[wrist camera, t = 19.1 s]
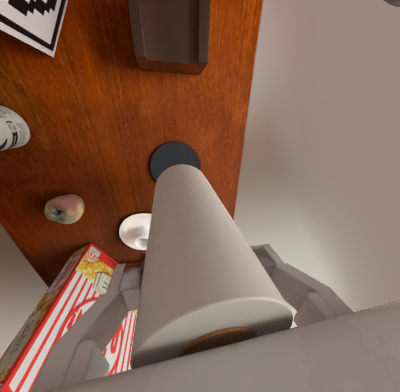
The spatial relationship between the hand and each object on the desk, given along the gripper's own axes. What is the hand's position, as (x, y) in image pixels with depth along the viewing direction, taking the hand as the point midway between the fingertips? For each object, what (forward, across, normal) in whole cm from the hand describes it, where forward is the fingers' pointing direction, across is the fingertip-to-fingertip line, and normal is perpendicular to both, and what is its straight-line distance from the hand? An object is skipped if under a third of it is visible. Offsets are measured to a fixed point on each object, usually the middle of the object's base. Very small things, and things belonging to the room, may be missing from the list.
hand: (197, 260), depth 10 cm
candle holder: (+28, +9, +19) cm, 35 cm away
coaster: (+28, 0, +2) cm, 28 cm away
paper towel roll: (+3, 0, 0) cm, 3 cm away
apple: (+28, +22, +9) cm, 36 cm away
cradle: (+28, 0, -19) cm, 33 cm away
